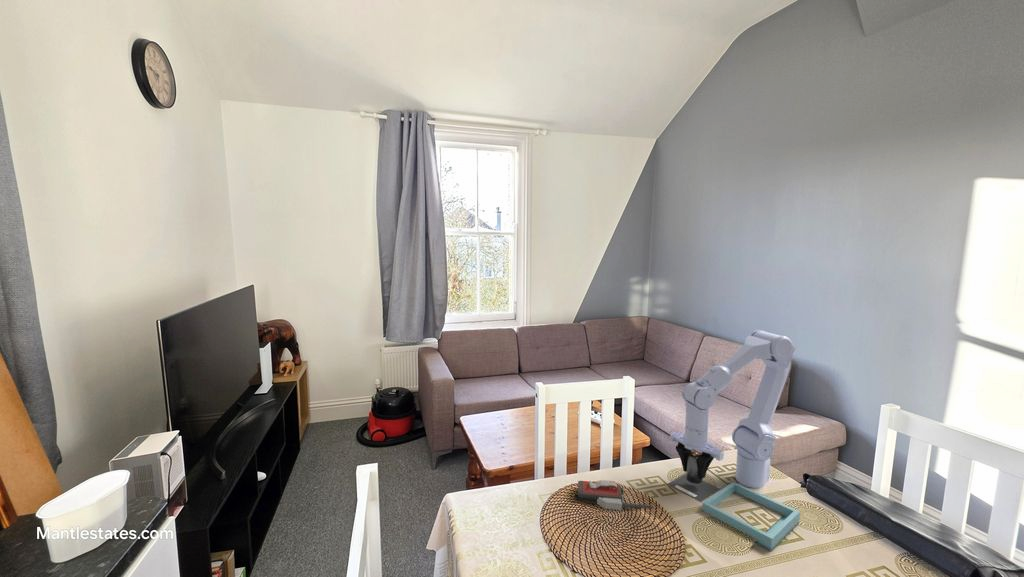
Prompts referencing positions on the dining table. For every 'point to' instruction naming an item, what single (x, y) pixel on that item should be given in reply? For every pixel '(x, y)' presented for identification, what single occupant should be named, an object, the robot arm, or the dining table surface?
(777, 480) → the dining table surface
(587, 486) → the walkie-talkie
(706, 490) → the grey square pad
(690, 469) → the battery cell
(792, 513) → the rectangular frame
